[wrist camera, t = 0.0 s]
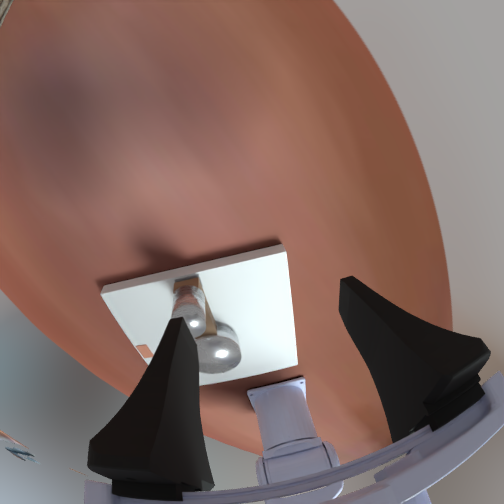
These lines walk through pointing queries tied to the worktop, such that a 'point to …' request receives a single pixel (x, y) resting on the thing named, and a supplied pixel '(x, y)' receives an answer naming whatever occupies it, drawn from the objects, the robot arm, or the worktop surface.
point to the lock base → (218, 308)
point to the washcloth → (4, 9)
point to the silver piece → (205, 328)
